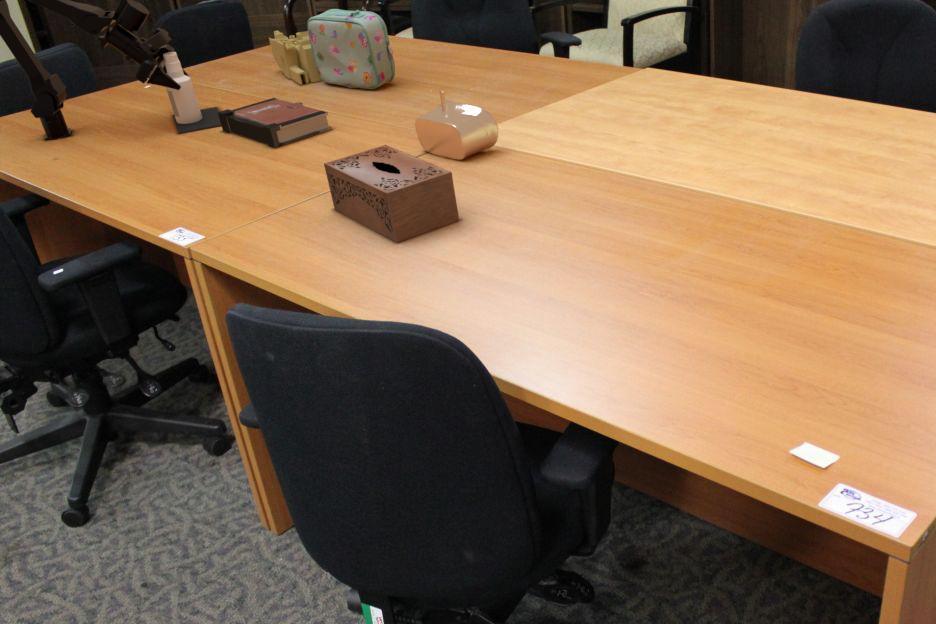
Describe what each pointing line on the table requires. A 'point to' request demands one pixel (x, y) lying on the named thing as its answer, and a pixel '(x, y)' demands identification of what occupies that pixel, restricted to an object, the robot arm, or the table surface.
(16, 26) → the robot arm
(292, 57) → the beige blocky piece
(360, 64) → the lunch box
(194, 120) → the spray bottle
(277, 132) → the book
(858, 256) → the table surface
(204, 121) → the pad
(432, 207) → the tissue box cover
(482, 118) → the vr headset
